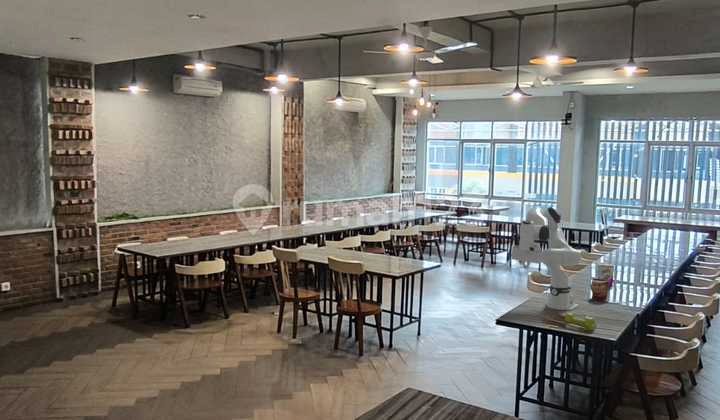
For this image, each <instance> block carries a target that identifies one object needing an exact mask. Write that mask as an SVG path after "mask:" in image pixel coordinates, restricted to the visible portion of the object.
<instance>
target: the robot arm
mask: <svg viewBox="0 0 720 420" xmlns="http://www.w3.org/2000/svg"><path fill="white" fill-rule="evenodd" d="M561 218H562V214H561V212H560V210H559V209H558V208H557V207H556V206H555V205H554V206H550V207H547V208H546V209H543V208H541V207H540V206H537V205H536V206H532V207H531V208H530V209H529V210H528V212H527V213H526V216H525V220H522V221H521V223H520V227H519V229H518V236H519V238H520V239H519V240H518V241H519V242H518V243H519V244H518V245H516V244H514V245H513V246H512V247H511V254H510V258H511V260H514V261H520V262H521V264H522V268H523V269H525V270H529V267H530V265H531V263H532V264H541V263H542V264H543V265H545V267H547V269H548V271H549V274H550V285H549V292H547V301H546V302H545V306H547V308H550V309H553V310H558V311H559V310H561V311H564V310H565V311H573V310H575V309H576V308H578V307H579V306H580V304H578V303H577V302H576V301H575V300H576V297H575V296H574V295H573V293H571V290H572V286H571V285H569V278H570V277H569V274H568V273H567V272H566V271H564V270H563V269H561V268H560V267H562V266H564V267H565V266H567V267H571V266H573V267H574V266H577V265H579V264H580V263H581V261H582V255H581V252H580V251H579V250H577V249H576V248H573V247H572V246H570V245H569V244H568V243H567V239H566V238H565V234H564V231H563V229H562V227H561V226H560V225H559V224H560V223H561ZM535 241H542V242H546V241H547V243H548V247H549V248H544V249H542V247H541V246H539V245H537V244H535Z"/></svg>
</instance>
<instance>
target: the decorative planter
mask: <svg viewBox="0 0 720 420" xmlns="http://www.w3.org/2000/svg"><path fill="white" fill-rule="evenodd" d="M590 291H591V293H592V295H591V299H592V300H593V301H601V302H604V301H607V299H608V294H609V291H610V286H609V284H608V281H607V280H604V279H597V278H592V280H591V283H590Z"/></svg>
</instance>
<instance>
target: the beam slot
mask: <svg viewBox="0 0 720 420" xmlns="http://www.w3.org/2000/svg"><path fill="white" fill-rule="evenodd" d="M565 316H566V315H563V314H557V313H554V314H553V318H554V319H552V318H549V317H548V318H547V317H543V318H542V323H545V322H546V324H549V325H554V326H558V327H562V328H566V329H569V330H574V331H578V332H582V333H585V331H586V328H585V325H583V326H582V325H580V326H579V325H578V324H569V323H565ZM555 319H557V320H555ZM595 328H597V323H596V322H595V327H594V329H595Z"/></svg>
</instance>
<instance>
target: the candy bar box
mask: <svg viewBox="0 0 720 420" xmlns="http://www.w3.org/2000/svg"><path fill="white" fill-rule="evenodd" d="M614 269H615V265H614V264H608V263H607V264H606V263H598V265H597V276H596V279H604V280H607V281H608V284H609V287H614V286H613V285H614V272H615V270H614Z"/></svg>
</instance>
